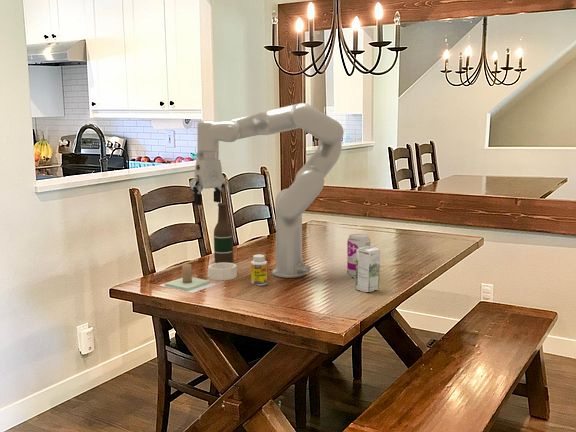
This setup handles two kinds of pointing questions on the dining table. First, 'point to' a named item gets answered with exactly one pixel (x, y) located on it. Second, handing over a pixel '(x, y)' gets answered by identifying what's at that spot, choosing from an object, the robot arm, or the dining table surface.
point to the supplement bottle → (259, 270)
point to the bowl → (222, 271)
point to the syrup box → (367, 268)
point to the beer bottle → (223, 237)
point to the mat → (193, 289)
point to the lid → (187, 280)
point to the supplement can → (352, 245)
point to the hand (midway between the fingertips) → (207, 203)
